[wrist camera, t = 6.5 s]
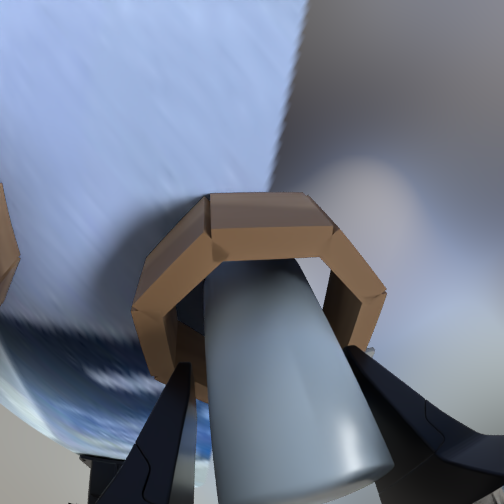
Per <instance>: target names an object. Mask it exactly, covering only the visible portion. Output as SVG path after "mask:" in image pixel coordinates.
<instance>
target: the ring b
mask: <svg viewBox="0 0 504 504" xmlns="http://www.w3.org/2000/svg"><path fill="white" fill-rule="evenodd" d="M307 257H320V258H321V259H322V260H323V261H324V262H325V263H326V265H327V266H329V268H330V269H331V272H330V277H329V282H328V287H327V292H326V296H325V300H324V305H323V309H322V310H323V312H324V314H325V316H326V318H327V320H328V322H329V324H330V326H331V328H332V330H333V332H334V334H335V336H336V338H337V341H338V343H339V345H340V347H341V349H342V350H343V348H344V347H345V346H350V345H356V346H357V347H359V348H360V349H361V350H362V351H364V352H365V351H366V348H367V346H368V343H369V341H370V338H371V336H372V333H373V331H374V328H375V326H376V323H377V320H378V318H379V315H380V312H381V310H382V307H383V304H384V301H385V298H386V295H387V293H386V292H385V290H386V288H385V286H384V285H383V283H382V282H381V281H380V279H379V278H378V277H377V275H376V274H375V273H374V271H372V269H371V268H370V266H369V265H368V264H367V262H366V261H365V260H364V258H363V257H362V256H361V255H360V253H359V252H358V251H357V250H356V248H355V247H354V246H353V245H352V243H351V242H350V241H349V240H348V238H347V237H346V236H345V235H344V233H343V232H342V231H341V230H340V228H339V227H338V226H337V225H336V224H335V223H334V222H333V221H332V220H331V219H330V218H329V216H328V215H327V214H326V213H325V212H324V211H323V210H322V209H321V208H320V207H319V206H318V205H317V204H316V203H315V202H314V201H313V199H312V198H311V197H310V196H308V195H307V196H306V195H305V194H304V193H303V192H300V193H299V192H251V193H210V201H209V200H208V199H207V198H206V197H205V196H204V197H203V198H202V199H201V200H200V201H199V202H198V203H197V204H196V205H195V206H194V207H193V208H192V209H191V210H190V211H189V212H188V213H187V214H186V215H185V216H184V217H183V218H182V219H181V220H180V221H179V223H178V224H177V225H176V226H175V227H174V228H173V229H172V230H171V231H170V232H169V233H168V234H167V235H166V236H165V237H164V239H163V240H162V241H161V242H160V243H159V244H158V245H157V246H156V247H155V248H154V250H153V251H152V252H151V253H150V254H149V255H148V256H147V257H146V260H145V263H144V267H143V270H142V273H141V276H140V280H139V283H138V286H137V290H136V293H135V297H134V300H133V304H132V308H131V314H132V317H133V321H134V324H135V328H136V331H137V335H138V338H139V341H140V344H141V347H142V351H143V354H144V357H145V360H146V363H147V366H148V368H149V371H150V374H151V376H155V377H154V379H155V380H157V381H159V382H161V383H163V384H165V385H166V384H167V382H168V380H169V378H170V377H171V375H172V373H173V371H174V369H175V367H176V366H177V364H178V363H179V362H191V364H192V369H193V374H194V381H195V398H196V399H198V400H201V401H203V402H205V403H208V390H207V374H206V356H205V336H203V335H202V334H200V333H198V332H197V331H195V330H193V329H192V328H190V327H189V326H187V325H185V324H184V323H182V322H181V321H179V320H178V317H177V311H176V304H177V303H178V302H180V301H181V300H182V299H183V298H184V297H185V296H186V295H187V294H188V293H189V292H190V291H191V290H192V289H194V288H195V287H196V286H197V285H198V284H199V283H200V282H201V281H202V280H203V279H204V278H205V277H207V276H208V275H209V274H210V273H211V272H212V271H213V270H214V269H215V268H216V267H217V266H218V265H220V264H221V263H222V262H223V261H244V260H266V259H287V258H307Z"/></svg>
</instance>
